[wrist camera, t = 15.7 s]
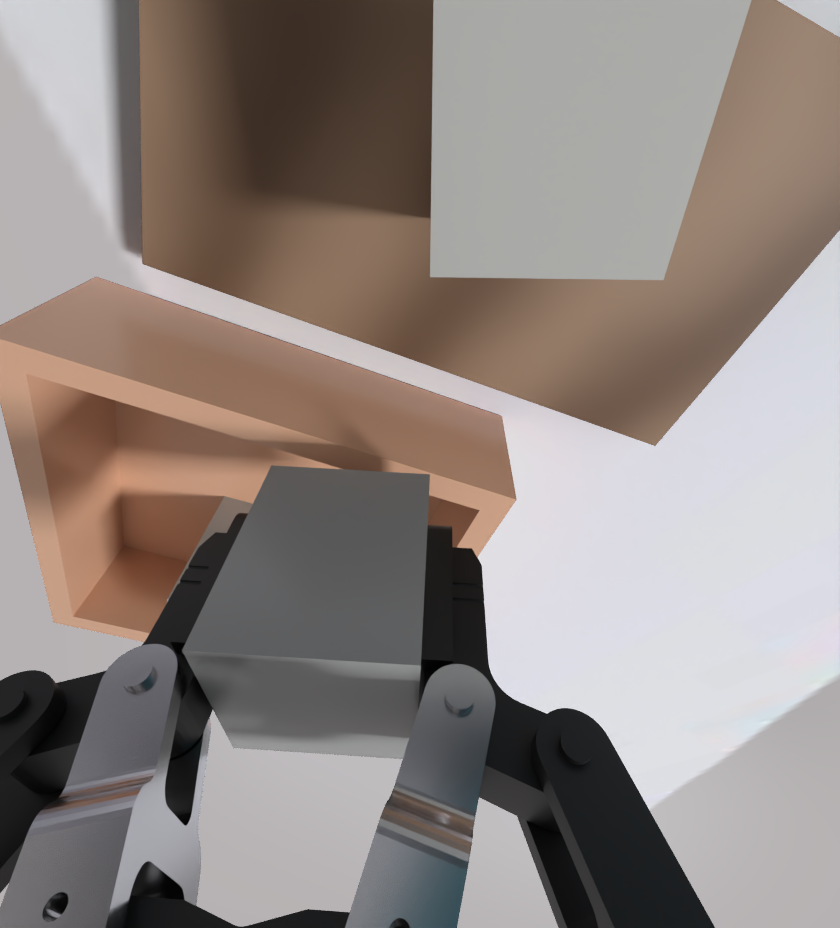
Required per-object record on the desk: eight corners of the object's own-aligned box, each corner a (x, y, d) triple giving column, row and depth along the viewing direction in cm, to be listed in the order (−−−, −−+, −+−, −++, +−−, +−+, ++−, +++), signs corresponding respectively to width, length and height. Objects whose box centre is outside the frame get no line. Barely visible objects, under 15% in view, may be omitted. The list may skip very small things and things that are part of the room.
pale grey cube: (435, 218, 12) (429, 277, 8) (439, 2, 10) (434, -65, 6) (591, 220, 12) (663, 280, 8) (636, 0, 9) (773, -70, 5)
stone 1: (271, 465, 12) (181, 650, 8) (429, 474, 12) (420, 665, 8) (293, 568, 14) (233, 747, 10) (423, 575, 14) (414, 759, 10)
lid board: (163, 252, 14) (142, 263, 13) (169, -324, 8) (133, -381, 7) (643, 426, 17) (654, 445, 16) (906, 101, 11) (948, 102, 10)
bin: (115, 539, 22) (53, 622, 19) (96, 276, 15) (-17, 334, 11) (393, 608, 25) (384, 693, 21) (501, 416, 17) (516, 499, 13)
